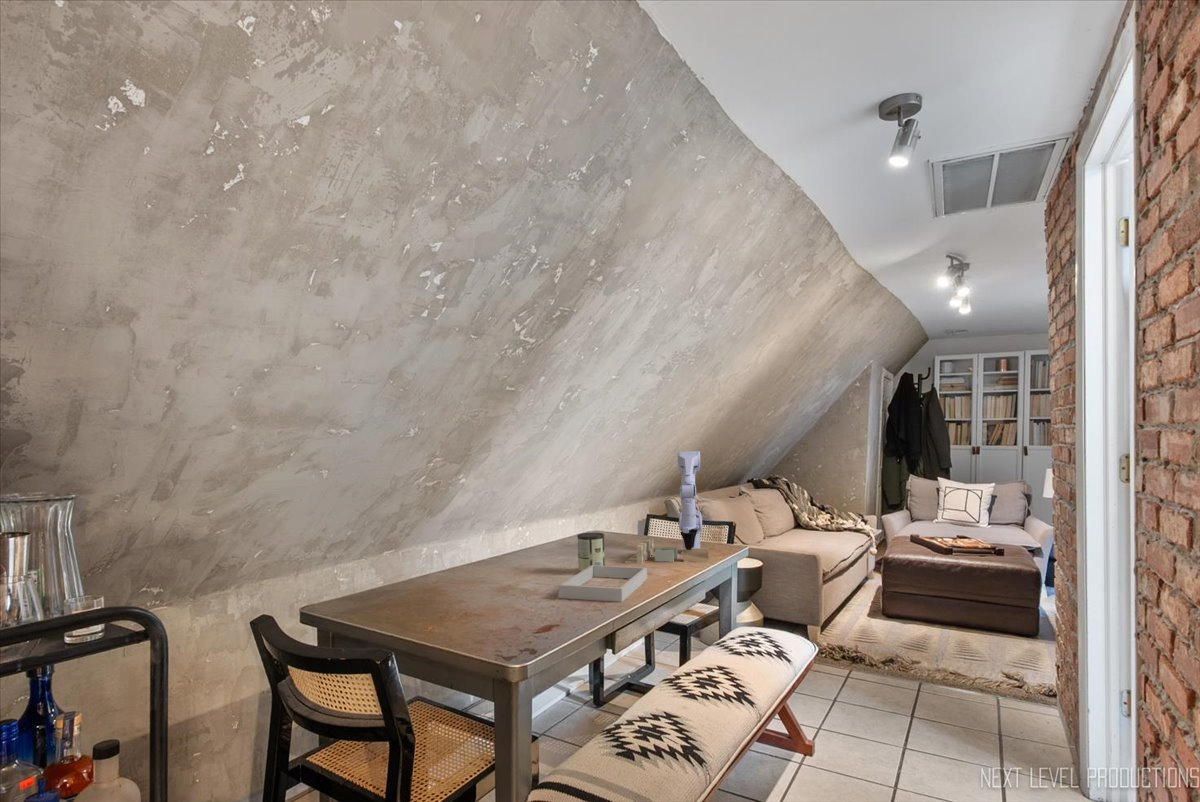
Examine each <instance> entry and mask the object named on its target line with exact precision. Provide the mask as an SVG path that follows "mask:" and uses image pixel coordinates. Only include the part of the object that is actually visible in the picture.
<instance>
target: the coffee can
mask: <svg viewBox="0 0 1200 802" xmlns="http://www.w3.org/2000/svg"><path fill="white" fill-rule="evenodd" d="M576 537H577V560H578V561H577V563H578V571H577V572H579V573H580V572H581V571H583V570H584V569H586V568H588V567H589V566H591V565H598V566H606V564H605V562H606V561H605V534H604V533H602V532H583V533H578V534H576Z"/></svg>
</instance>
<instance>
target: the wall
mask: <svg viewBox="0 0 1200 802" xmlns="http://www.w3.org/2000/svg"><path fill="white" fill-rule="evenodd" d="M654 549H655V547H654V537H653V538H651V537H649V538H647V539H645V540H643V541H642V542H640V543H639V544H638V545H636V553H635V554H633V555H631V557H630V558H628V559H627V560H625V561H624V563H625V564H630V563H643V562H644V561H645V560H646V559H648V558H649V557H650V556H651V555H653V554H654V555H655V550H654ZM654 555H653V556H654ZM650 558H651V557H650ZM650 558H649V559H650ZM649 559H648V560H649ZM646 561H647V560H646ZM646 561H645V562H646ZM645 562H644V563H645ZM644 563H643V564H644Z"/></svg>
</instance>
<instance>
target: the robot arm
mask: <svg viewBox="0 0 1200 802" xmlns="http://www.w3.org/2000/svg"><path fill="white" fill-rule="evenodd" d="M677 463H678V469H679V472H682V474H681V479H680V480H681V481H680V482H681V484H680V487H679V497H680V504H681V511H680V513H678V514H679V517H678V529H679V531H680V535H681V537H682V551H681V552H680V555H683V549H684V548H686V550H691V549H692V548H701V536H700V532H702V531H703V517H702V513H701V511H699V510H697V509H696V499H697V486H696V474H697V472H700V469H701V452H700V451H699V450H693V451H692V450H691V451H684V450H683V451H679V450H678V452H677Z"/></svg>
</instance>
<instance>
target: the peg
mask: <svg viewBox="0 0 1200 802" xmlns="http://www.w3.org/2000/svg"><path fill="white" fill-rule="evenodd" d="M682 551H683V554H682V557H683V559H682V560H683V561H688V562H687V563H710V554H709V551H710V550H709V547H707V548H704V547H703V548H701V547H700V548H692V549H691V550H686V548H684V549H683V548H682ZM683 561H682V562H683Z"/></svg>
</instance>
